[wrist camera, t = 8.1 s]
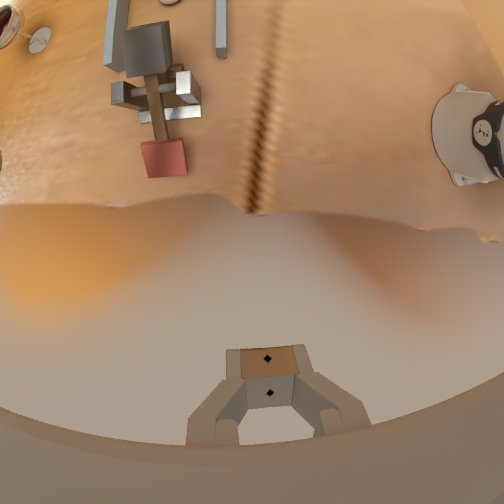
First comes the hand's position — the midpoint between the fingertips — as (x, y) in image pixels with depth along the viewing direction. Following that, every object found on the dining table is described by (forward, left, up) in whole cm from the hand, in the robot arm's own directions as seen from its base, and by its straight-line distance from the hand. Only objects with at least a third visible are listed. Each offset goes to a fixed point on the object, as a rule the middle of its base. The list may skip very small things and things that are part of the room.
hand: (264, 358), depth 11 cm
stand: (+9, -14, -31) cm, 35 cm away
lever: (+9, -16, -30) cm, 35 cm away
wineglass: (+32, -30, -31) cm, 54 cm away
